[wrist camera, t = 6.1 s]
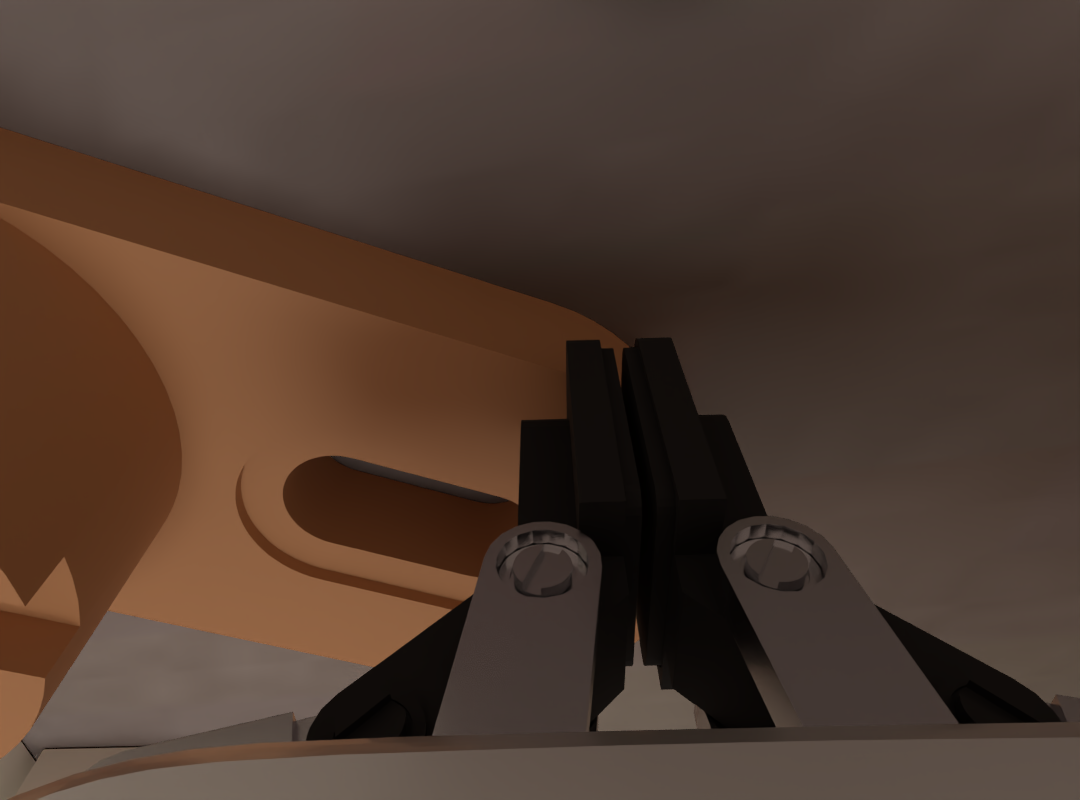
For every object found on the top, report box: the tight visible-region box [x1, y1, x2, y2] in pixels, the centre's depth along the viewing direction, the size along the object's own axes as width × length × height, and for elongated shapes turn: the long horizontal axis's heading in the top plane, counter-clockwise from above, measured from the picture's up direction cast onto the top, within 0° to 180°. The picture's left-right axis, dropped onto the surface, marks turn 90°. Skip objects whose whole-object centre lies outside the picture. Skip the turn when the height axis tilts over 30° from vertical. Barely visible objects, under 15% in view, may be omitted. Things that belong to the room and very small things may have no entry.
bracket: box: [0, 128, 639, 759], centre depth 12 cm, size 18×8×7 cm, turn 71°
